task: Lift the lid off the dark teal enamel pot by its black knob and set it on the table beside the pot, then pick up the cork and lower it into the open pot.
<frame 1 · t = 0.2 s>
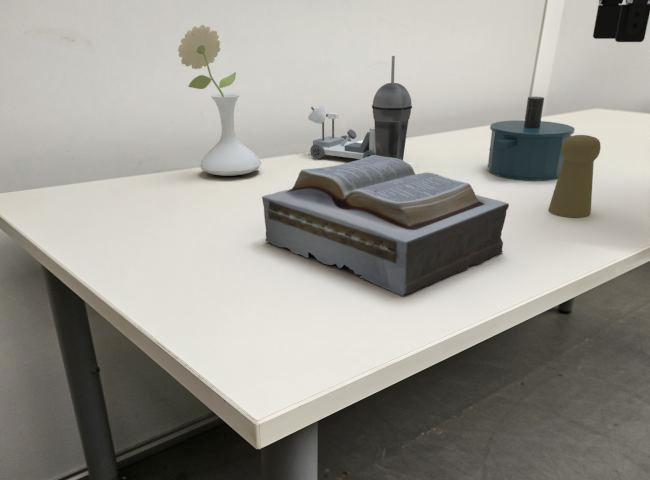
hand: (616, 40, 78), 23 cm above the table, tool pointing down, fingers open, 9 cm apart
beverage cup: (389, 172, 115), on the table
pot: (525, 171, 114), on the table
toy car: (351, 157, 127), on the table
lid: (531, 130, 111), point 7 cm above the table, touching pot
flower in vase: (227, 174, 114), on the table
cork: (569, 212, 92), on the table
bible: (381, 249, 78), on the table
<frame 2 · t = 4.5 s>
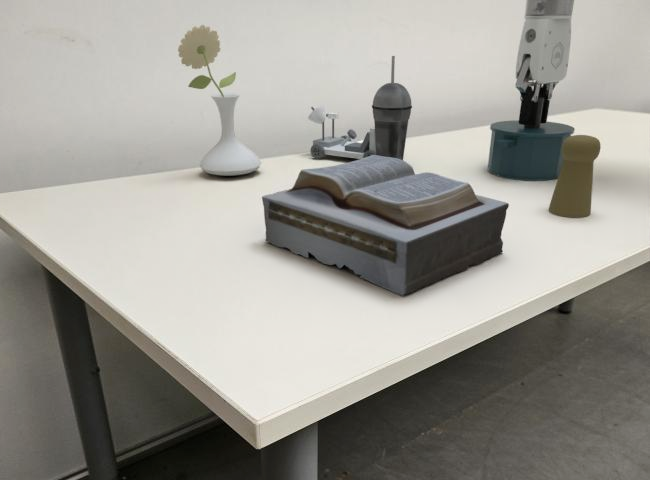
hand: (532, 122, 110), 9 cm above the table, tool pointing down, fingers closed on lid, 2 cm apart
lid: (531, 130, 111), point 8 cm above the table, touching gripper, pot
everything else where it was.
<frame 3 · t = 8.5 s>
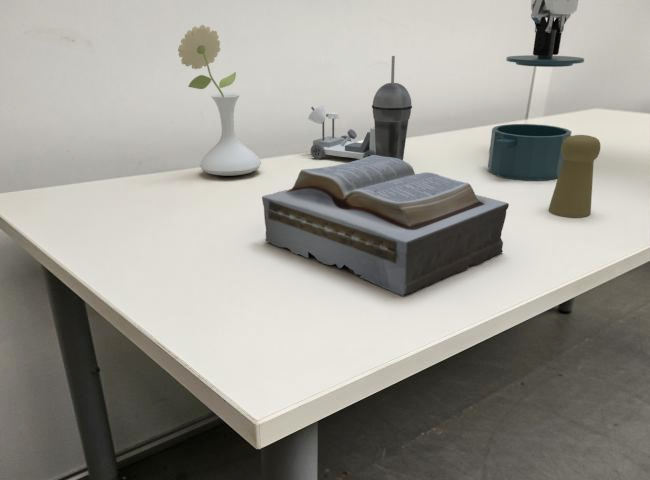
hand: (545, 54, 120), 19 cm above the table, tool pointing down, fingers closed on lid, 2 cm apart
lid: (544, 61, 121), point 18 cm above the table, touching gripper
everything else where it was.
when the fingers open (2 cm above the table, at t = 12.4 s): lid stays where it is, point 1 cm above the table.
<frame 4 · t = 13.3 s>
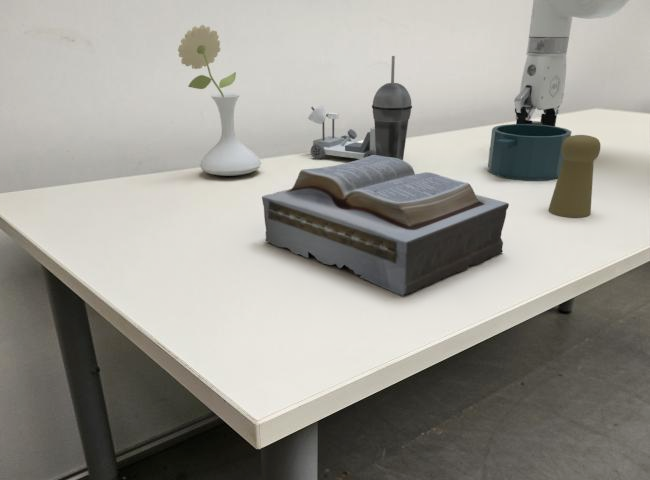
hand: (534, 137, 128), 3 cm above the table, tool pointing down, fingers open, 9 cm apart
lid: (531, 149, 129), point 1 cm above the table
everything else where it was.
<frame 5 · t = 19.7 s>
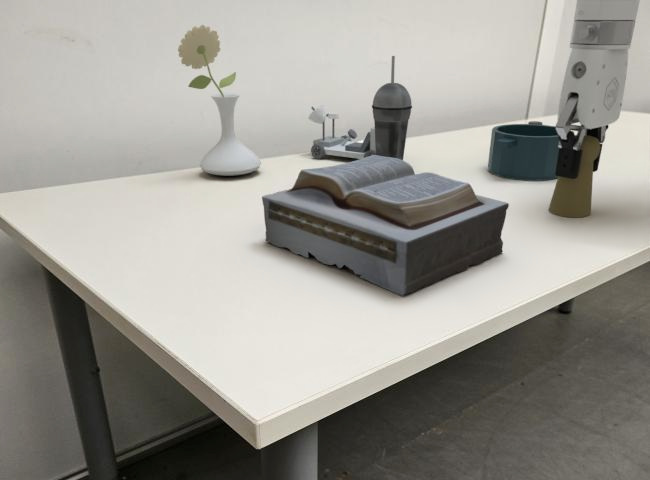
hand: (576, 172, 89), 6 cm above the table, tool pointing down, fingers closed on cork, 5 cm apart
cork: (569, 212, 92), on the table, touching gripper
everything else where it was.
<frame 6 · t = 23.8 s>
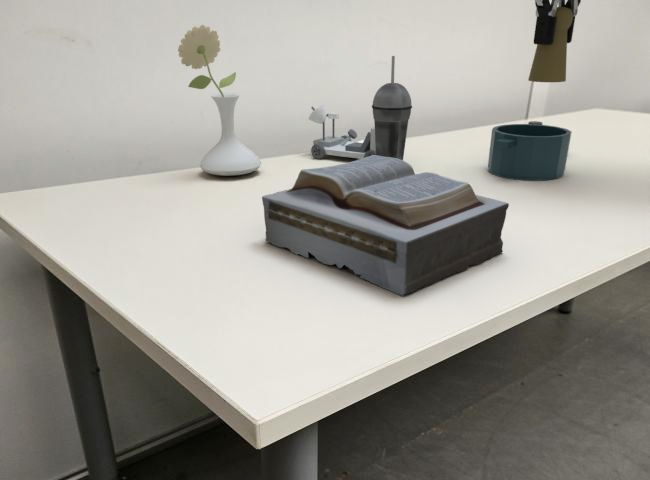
hand: (552, 42, 100), 22 cm above the table, tool pointing down, fingers closed on cork, 5 cm apart
cork: (546, 81, 103), point 16 cm above the table, touching gripper
everything else where it was.
when the fingers open (6 cm above the table, at t = 28.1 s): cork stays where it is, resting on pot.
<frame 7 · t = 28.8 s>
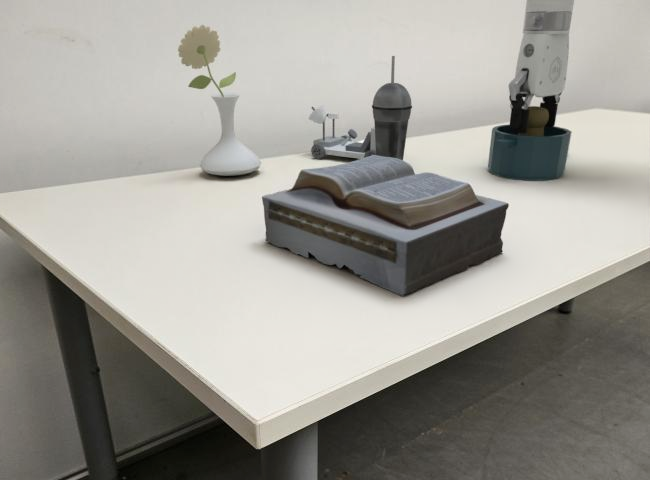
hand: (531, 129, 111), 8 cm above the table, tool pointing down, fingers open, 9 cm apart
cork: (525, 169, 114), resting on pot
everything else where it was.
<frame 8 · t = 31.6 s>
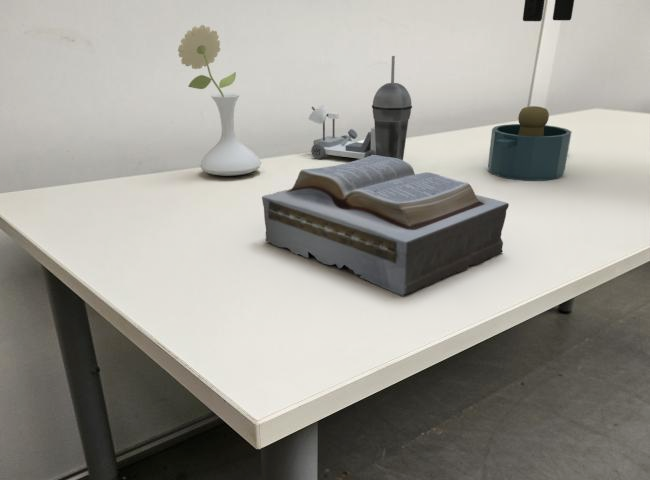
hand: (547, 20, 103), 25 cm above the table, tool pointing down, fingers open, 9 cm apart
nothing on the table moved.
at the end: lid inside the target area (0.1 cm from its centre), point 0.6 cm above the table; cork inside the target area in the pot (0.0 cm from its centre), point 0.3 cm above the pot's base; the gripper is holding nothing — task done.
